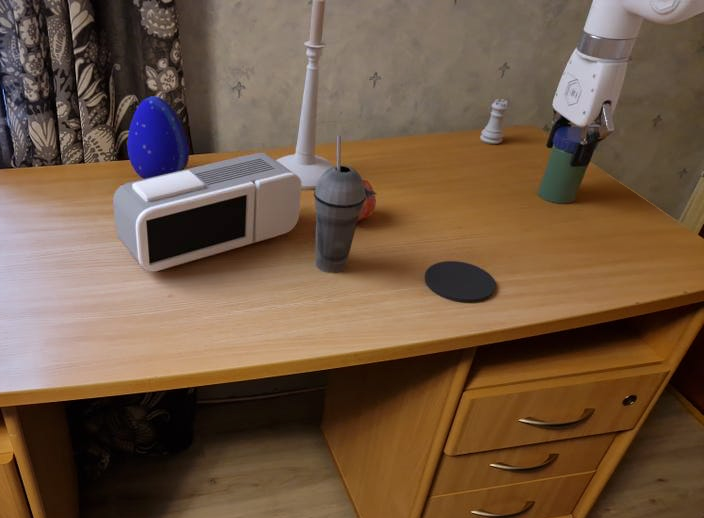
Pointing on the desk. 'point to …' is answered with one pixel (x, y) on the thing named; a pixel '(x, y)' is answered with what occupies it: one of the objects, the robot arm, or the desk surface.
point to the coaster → (460, 281)
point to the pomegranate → (367, 201)
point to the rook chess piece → (495, 123)
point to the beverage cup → (337, 214)
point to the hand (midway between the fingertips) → (566, 155)
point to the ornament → (156, 140)
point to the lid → (568, 138)
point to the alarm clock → (206, 210)
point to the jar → (560, 177)
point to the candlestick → (310, 111)
